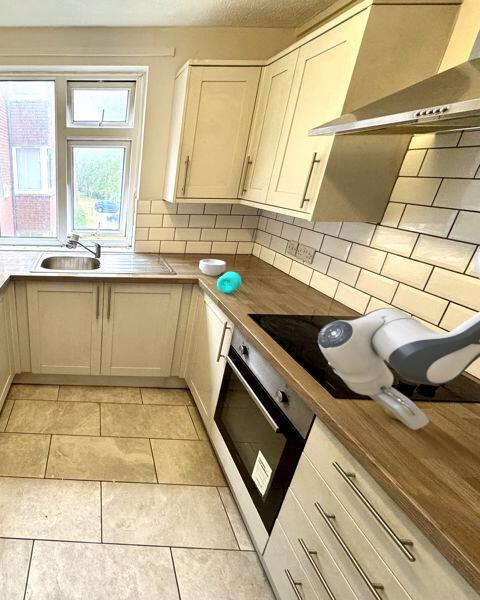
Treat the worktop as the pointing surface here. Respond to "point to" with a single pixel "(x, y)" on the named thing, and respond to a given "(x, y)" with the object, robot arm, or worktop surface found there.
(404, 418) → the robot arm
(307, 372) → the worktop surface
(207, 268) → the paper bowls
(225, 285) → the turquoise rounded cylinder
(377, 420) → the worktop surface
